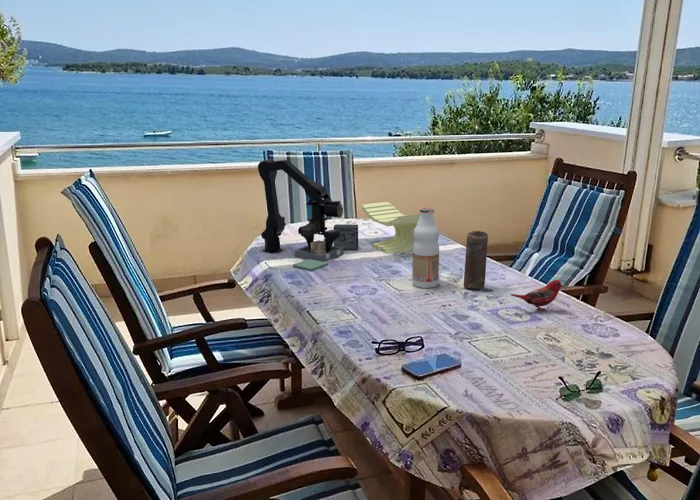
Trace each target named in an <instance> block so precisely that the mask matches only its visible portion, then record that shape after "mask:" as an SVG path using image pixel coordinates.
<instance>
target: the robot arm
mask: <svg viewBox="0 0 700 500" xmlns="http://www.w3.org/2000/svg"><path fill="white" fill-rule="evenodd" d="M257 170H258V173H259V176H260V179H261V180H262V182H263V185H264V194H265V195H264V196H265V200H266V201H265V202H266V209H267V217H266V221H265V229H264V230H263V231H262V232H261V234H260V236H261V239H263V240H264V241H263V242H264V248H263V249H262V250H261V251H262V252H265V253H270V254H275V253H276V252H277V253H278V252H280V251H283V248H281V241H280V236H282V234H283V232H284V231H285V228H286V226H287V224H286V221H285V220H286V217H285V216H281V214H280V207H279V202H278V193H277V192H278V191H277V185H276V179H277V174H278V171H283V172H284V173H285V174H286V175H288V176H289V177H290V178H291V180H293V181H295V182H296V183H297V185H299V186H300V187H302V189H303V190H304V192H305V194H306V195H307V197H308V198H309V200H308V201H307V202H306V203H305V205H306V206H310V216H311V217H310V218H309V219H308V223H306V224H305V225H301V226H299V228H298V229H297V231H298V232H297V234H298V235H300V236H301V237H303V239H305V242H306V243H307V246H309V249H310V250H311V242H314V241H315V240H314V239H315V235H318V236H319V235H320V236H323V239H322V241H325V248H326V253H328V252H329V251H330V248H331V246H333V245H334V240H335V239H337V238H338V237H340V233H339V231H337V230H334V229H329V230H328V227H327V226H326V221H328V218H336V219H337V218H339V219H340V218H342V216H343V214H344V208H343V205H342V204H341V200H332V198H331V196H330V195H329V193H328V192H327V188H326V186H324V185H322V184H321V183H319V182H317V181H314V180H313V179H311V178H309V177H308V176H307V175H306V174H305V173H303V172H302V171H301V170H300V169H299V168H298V167H297V166H296V165H294V164H293V163H292V162H291V160H289V159H283V160H274V159H272V158H271V159H270V158H269V159H265V160H262V161H260V162H259V163H258V164H257Z"/></svg>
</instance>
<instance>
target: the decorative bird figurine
mask: <svg viewBox="0 0 700 500" xmlns="http://www.w3.org/2000/svg"><path fill="white" fill-rule="evenodd" d="M562 287H564V285H563V284H562V283H561V281H560V280H558V279H554V280H552V281H550V282H549V283H548V284H546V285H544V286H543V287H540V288H537V289H535V290H532V291H530V292H527V293H526V294H514V293H511V294H510V296H512V297H514V298H519V299H521V300H524V301H525V302H526V303H527V304H528V305H529V304H530V305H533V306H534V307H535V309H534V311H546V310H550V308H545V307H544V306H548V305H549V304H551V303H552V302H553V301H555V299H556V298H557V296H558V294H559V292H560V290H561V288H562ZM542 307H543V308H542Z"/></svg>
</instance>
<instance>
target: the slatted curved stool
mask: <svg viewBox="0 0 700 500" xmlns="http://www.w3.org/2000/svg"><path fill="white" fill-rule="evenodd" d="M361 208H362V209H361V210H362V211H363V212H365V213H364V214H365V215H368V218H370V219H371V222H375V223H378V224H379V225H383V226H386V227H393V229H394V231H395V233H394V236H392V238H390V239H388V240H384V241H380V242H379V241H378V242H375V243H372V245H371V248H372V249H375V250H377V251H380V252H381V253H383V254H386V255H391V254H396V253H402V252H408V251H413V244H414V242H415V239H414V235H413V233H414V229H415V227H416V226H417V223H418V221H419V218H420V215H421V214H420V213H418V214H411V215H410V214H409V215H405V214H403V213H401V211H400V210H398V208H396V207H395V206H394V205H393V204H392V203H391V202H388V201H381V202H375V203H372V202H371V203H366V204H364V203H363V204H362V205H361Z"/></svg>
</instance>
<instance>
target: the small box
mask: <svg viewBox="0 0 700 500" xmlns="http://www.w3.org/2000/svg"><path fill="white" fill-rule="evenodd" d="M333 230H337V231H339V233H340V237H338V238H337V239H335V240H334V242H333V246H336V247H341V248H343V251H358V250H359V224H347V223H346V224H345V223H344V224H334V226H333Z"/></svg>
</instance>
